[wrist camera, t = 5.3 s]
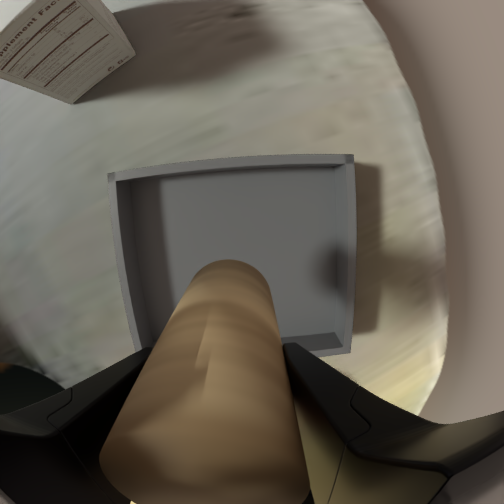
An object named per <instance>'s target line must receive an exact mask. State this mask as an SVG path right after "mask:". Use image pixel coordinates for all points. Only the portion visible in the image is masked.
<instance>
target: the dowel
mask: <svg viewBox="0 0 504 504" xmlns="http://www.w3.org/2000/svg"><path fill="white" fill-rule="evenodd" d="M99 462H100V467H101V469H102V471H103V473H104V475H105V476H106V478H107V479H108V481H109V482H110V483H111V484H112V485H113V486H114V487H115V488H116V489H117V490H118V491H119V492H120V493H122V494H123V495H124V496H125V497H127V498H128V499H130V500H131V501H133V502H134V503H136V504H302V503H303V502H304V500H305V499H306V497H307V496H308V494H309V491H310V480H309V475H308V470H307V465H306V460H305V455H304V450H303V445H302V440H301V435H300V430H299V425H298V420H297V415H296V410H295V405H294V400H293V395H292V390H291V385H290V381H289V376H288V371H287V366H286V362H285V357H284V352H283V347H282V342H281V337H280V333H279V328H278V323H277V319H276V314H275V309H274V304H273V300H272V295H271V291H270V287H269V285H268V283H267V281H266V279H265V278H264V276H263V275H262V274H261V273H260V272H259V271H258V270H257V269H256V268H254V267H253V266H251V265H249V264H247V263H245V262H242V261H238V260H232V259H224V260H218V261H214V262H212V263H209V264H208V265H206V266H204V267H203V268H201V269H200V270H199V271H198V272H197V273H196V274H195V276H194V277H193V279H192V280H191V282H190V284H189V286H188V287H187V289H186V291H185V293H184V294H183V296H182V298H181V300H180V301H179V303H178V305H177V307H176V308H175V310H174V312H173V314H172V316H171V317H170V319H169V321H168V323H167V324H166V326H165V328H164V330H163V332H162V334H161V335H160V337H159V339H158V341H157V343H156V344H155V346H154V348H153V350H152V352H151V354H150V355H149V357H148V359H147V361H146V363H145V365H144V367H143V369H142V370H141V372H140V374H139V376H138V378H137V380H136V382H135V384H134V386H133V388H132V389H131V391H130V393H129V395H128V397H127V399H126V401H125V403H124V405H123V407H122V409H121V411H120V413H119V415H118V417H117V419H116V421H115V423H114V425H113V427H112V429H111V431H110V433H109V435H108V437H107V439H106V441H105V443H104V445H103V447H102V449H101V452H100V455H99Z"/></svg>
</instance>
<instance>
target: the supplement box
mask: <svg viewBox="0 0 504 504" xmlns="http://www.w3.org/2000/svg"><path fill="white" fill-rule="evenodd" d="M135 55H136V53H135V51H134V49H133V47H132V46H131V44H130V42H129V40H128V39H127V37H126V35H125V33H124V32H123V30H122V28H121V27H120V25H119V24H118V22H117V20H116V19H115V17H114V16H113V14H112V12H111V11H110V10H109V9H108V8H107V7H106V6H105V5H104V3H103V2H102V1H101V0H0V78H1V79H4V80H7V81H10V82H12V83H15V84H18V85H21V86H23V87H26V88H29V89H32V90H34V91H37V92H40V93H42V94H45V95H47V96H50V97H53V98H55V99H58V100H60V101H63V102H65V103H68V104H72V103H74V102H75V101H76V100H77V99H79V98H80V97H81V96H82V95H83V94H85V93H86V92H87V91H88V90H90V89H91V88H92V87H93V86H94V85H96V84H97V83H98V82H100V81H101V80H102V79H103V78H105V77H106V76H107V75H109V74H110V73H111V72H113V71H114V70H116V69H117V68H118V67H120V66H121V65H123V64H124V63H125V62H127V61H128V60H130V59H131V58H133V57H134V56H135Z"/></svg>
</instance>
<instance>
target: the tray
mask: <svg viewBox="0 0 504 504" xmlns="http://www.w3.org/2000/svg"><path fill="white" fill-rule="evenodd" d="M108 190H109V203H110V214H111V223H112V232H113V240H114V247H115V254H116V261H117V267H118V273H119V279H120V285H121V290H122V295H123V300H124V305H125V310H126V314H127V319H128V323H129V328H130V332H131V336H132V340H133V344H134V348H135V351H136V352H137V351H139V350H141V349H143V348H145V347H154V346H155V344H156V343H157V341H158V339H159V337H160V335H161V334H162V332H163V330H164V328H165V326H166V324H167V323H168V321H169V319H170V317H171V316H172V314H173V312H174V310H175V308H176V307H177V305H178V303H179V301H180V300H181V298H182V296H183V294H184V293H185V291H186V289H187V287H188V286H189V284H190V282H191V280H192V279H193V277H194V276H195V274H196V273H197V272H198V271H199V270H200V269H201V268H203V267H204V266H206V265H208V264H209V263H212V262H214V261H218V260H224V259H232V260H238V261H242V262H245V263H247V264H249V265H251V266H253V267H254V268H256V269H257V270H258V271H259V272H260V273H261V274H262V275H263V276H264V278H265V279H266V281H267V283H268V285H269V287H270V291H271V295H272V300H273V304H274V309H275V314H276V319H277V323H278V328H279V333H280V337H281V342H282V347H283V344H284V343H290V342H296V343H298V344H299V345H301V346H302V347H303V348H305V349H306V350H308V351H309V352H311V353H312V354H314V355H315V356H316V357H324V356H332V355H339V354H346V353H350V351H351V341H352V330H353V318H354V303H355V284H356V244H357V227H356V188H355V169H354V155H352V154H291V155H264V156H246V157H232V158H219V159H208V160H198V161H189V162H180V163H172V164H164V165H157V166H150V167H143V168H137V169H131V170H125V171H119V172H113V173H108Z"/></svg>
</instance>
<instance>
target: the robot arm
mask: <svg viewBox="0 0 504 504" xmlns="http://www.w3.org/2000/svg"><path fill="white" fill-rule="evenodd" d="M153 348H154V347H145V348H143V349H141V350H139V351H137V352H136V353H134V354H132V355H130V356H128V357H126V358H125V359H123V360H121V361H119V362H117V363H115V364H113V365H112V366H110V367H108V368H106V369H104V370H102V371H100V372H99V373H97V374H95V375H93V376H91V377H89V378H87V379H85V380H83V381H81V382H79V383H78V384H76V385H74V386H72V387H70V388H68V389H66V390H64V391H62V392H60V393H58V394H56V395H54V396H52V397H49V398H47V399H45V400H42V401H40V402H37V403H35V404H32V405H30V406H27V407H25V408H22V409H20V410H17V411H14V412H12V413H9V414H4V415H0V504H130V502H131V500H130V499H128V498H127V497H125V496H124V495H123V494H122V493H120V492H119V491H118V490H117V489H116V488H115V487H114V486H113V485H112V484H111V483H110V482H109V481H108V479H107V478H106V476H105V475H104V473H103V471H102V469H101V467H100V462H99V455H100V452H101V449H102V447H103V445H104V443H105V441H106V439H107V437H108V435H109V433H110V431H111V429H112V427H113V425H114V423H115V421H116V419H117V417H118V415H119V413H120V411H121V409H122V407H123V405H124V403H125V401H126V399H127V397H128V395H129V393H130V391H131V389H132V388H133V386H134V384H135V382H136V380H137V378H138V376H139V374H140V372H141V370H142V369H143V367H144V365H145V363H146V361H147V359H148V357H149V355H150V354H151V352H152V350H153ZM283 352H284V357H285V362H286V366H287V371H288V376H289V381H290V385H291V390H292V395H293V400H294V405H295V410H296V415H297V420H298V425H299V430H300V435H301V440H302V445H303V450H304V455H305V460H306V465H307V470H308V475H309V480H310V491H309V494H308V496H307V497H306V499H305V500H304V502H303V503H302V504H504V411H502V412H498V413H495V414H491V415H488V416H484V417H480V418H476V419H472V420H467V421H463V422H458V423H454V424H438V423H434V422H431V421H428V420H425V419H424V418H421V417H419V416H417V415H415V414H412V413H410V412H408V411H406V410H404V409H401V408H399V407H397V406H395V405H393V404H391V403H389V402H387V401H385V400H383V399H381V398H379V397H378V396H376V395H374V394H373V393H371V392H369V391H368V390H366V389H365V388H363V387H361V386H359V385H358V384H357V383H355V382H354V381H352V380H351V379H349V378H348V377H346V376H345V375H343V374H342V373H340V372H339V371H337V370H336V369H334V368H333V367H331V366H330V365H328V364H327V363H325V362H324V361H322V360H321V359H319V358H318V357H316V356H315V355H314V354H312V353H311V352H309V351H308V350H306V349H305V348H303V347H302V346H301V345H299V344H298V343H296V342H290V343H284V344H283Z"/></svg>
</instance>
